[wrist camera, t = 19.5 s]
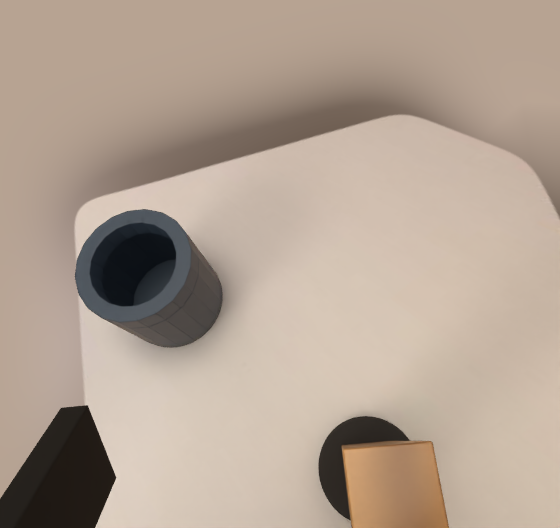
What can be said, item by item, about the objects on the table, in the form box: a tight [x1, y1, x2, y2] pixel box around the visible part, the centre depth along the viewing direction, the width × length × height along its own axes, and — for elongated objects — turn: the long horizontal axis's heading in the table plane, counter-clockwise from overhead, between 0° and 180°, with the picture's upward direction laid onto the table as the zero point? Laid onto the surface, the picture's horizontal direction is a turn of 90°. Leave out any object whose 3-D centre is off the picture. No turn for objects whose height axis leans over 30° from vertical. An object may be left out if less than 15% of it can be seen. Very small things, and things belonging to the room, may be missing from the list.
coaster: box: [319, 416, 409, 521], centre depth 37 cm, size 8×8×1 cm
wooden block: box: [341, 441, 449, 528], centre depth 28 cm, size 4×4×18 cm
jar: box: [75, 209, 222, 347], centre depth 40 cm, size 9×9×10 cm
